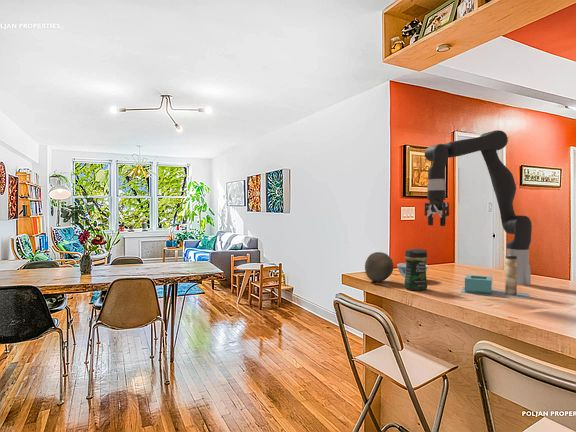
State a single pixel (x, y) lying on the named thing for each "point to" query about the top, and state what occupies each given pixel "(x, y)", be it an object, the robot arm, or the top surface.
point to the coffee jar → (415, 269)
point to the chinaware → (404, 268)
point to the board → (502, 294)
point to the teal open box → (478, 284)
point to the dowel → (511, 275)
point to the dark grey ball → (378, 266)
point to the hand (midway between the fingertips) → (436, 225)
